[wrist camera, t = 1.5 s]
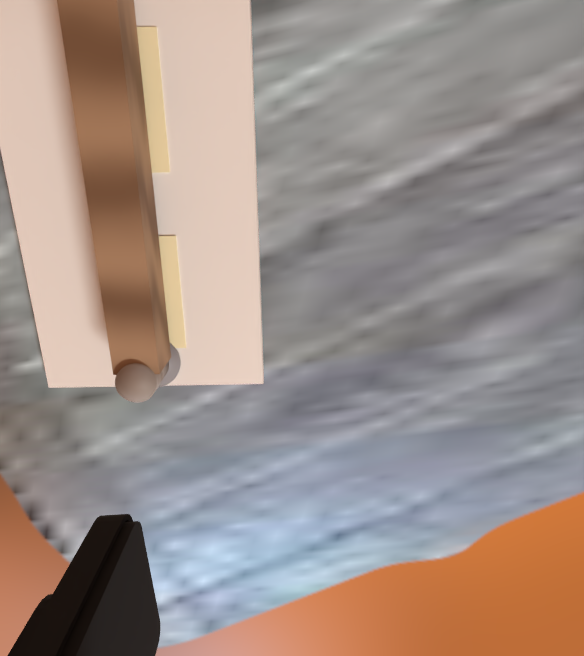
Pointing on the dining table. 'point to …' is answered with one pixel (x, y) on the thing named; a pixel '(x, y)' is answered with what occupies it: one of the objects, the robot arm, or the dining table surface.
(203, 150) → the label plate
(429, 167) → the dining table surface
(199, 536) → the dining table surface
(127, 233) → the bar
